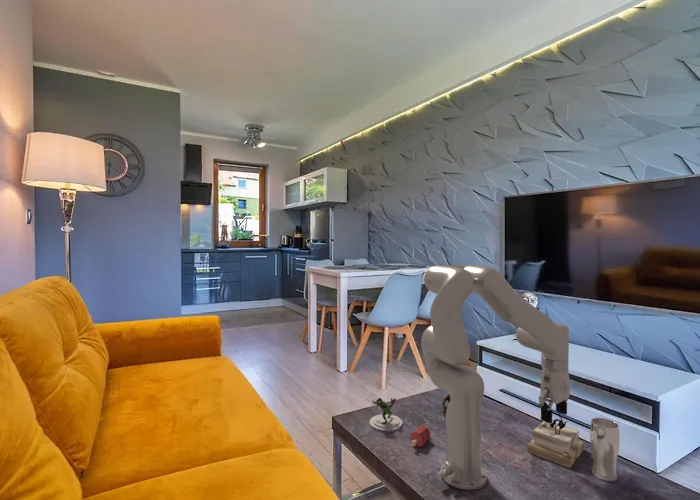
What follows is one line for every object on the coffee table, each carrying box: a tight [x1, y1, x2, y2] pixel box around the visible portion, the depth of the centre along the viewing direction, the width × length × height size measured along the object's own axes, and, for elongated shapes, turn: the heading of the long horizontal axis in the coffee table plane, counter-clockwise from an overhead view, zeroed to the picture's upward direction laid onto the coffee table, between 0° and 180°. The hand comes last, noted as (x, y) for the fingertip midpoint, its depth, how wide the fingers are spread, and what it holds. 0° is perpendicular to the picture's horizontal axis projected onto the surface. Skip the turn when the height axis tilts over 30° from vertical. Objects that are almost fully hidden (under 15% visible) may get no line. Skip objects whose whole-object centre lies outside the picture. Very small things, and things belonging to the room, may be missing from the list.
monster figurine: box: [369, 397, 403, 433], centre depth 141 cm, size 12×12×10 cm
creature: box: [539, 412, 568, 436], centre depth 121 cm, size 8×5×8 cm
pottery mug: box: [441, 394, 450, 416], centre depth 150 cm, size 12×10×8 cm
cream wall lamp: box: [527, 421, 585, 469], centre depth 122 cm, size 14×12×7 cm
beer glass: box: [589, 417, 621, 482], centre depth 109 cm, size 7×7×15 cm
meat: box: [410, 425, 431, 448], centre depth 128 cm, size 12×5×5 cm, turn 145°
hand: (554, 417), depth 121 cm, fingers open, 9 cm apart
